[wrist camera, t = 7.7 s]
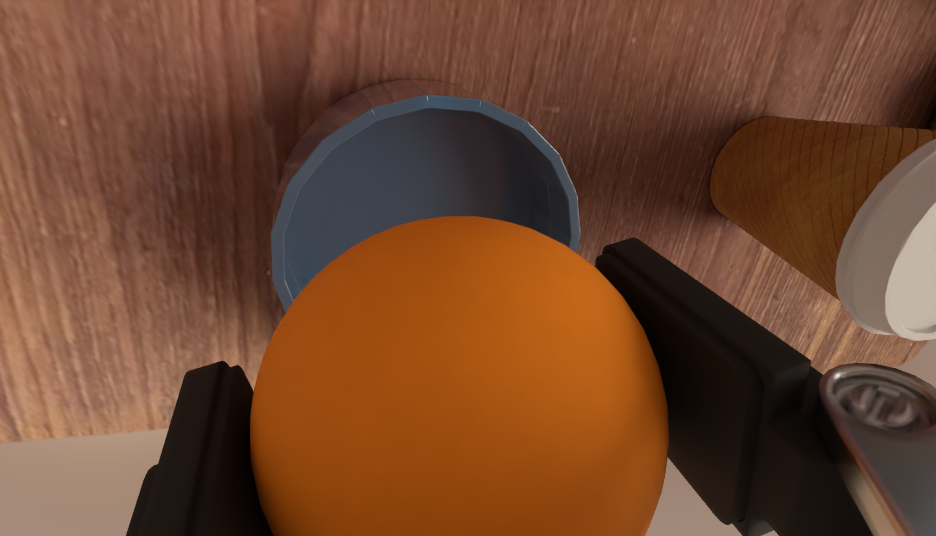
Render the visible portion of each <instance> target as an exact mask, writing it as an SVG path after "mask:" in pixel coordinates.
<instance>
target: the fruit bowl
mask: <svg viewBox="0 0 936 536" xmlns="http://www.w3.org/2000/svg"><path fill="white" fill-rule="evenodd" d="M447 216H477V217H484V218H491V219H498V220H502V221H507V222H511V223H514V224H518V225H521V226H524V227H527V228H531V229H533V230H535V231H537V232H539V233H542V234H544V235H546V236H548V237H550V238H552V239H554V240H556V241H558V242H560V243H562V244H564V245H566V246H567V247H569V248H570V249H571V250H573V251H574V252H575V253H577V251H578V247H579V242H580V236H581V233H580V220H579V207H578V195H577V192H576V190H575V187H574V185H573V183H572V181H571V178H570V176H569V174H568V171H567V169H566V167H565V165H564V162H563V160H562V158H561V156H560V154H559V153H558V152H557V150H556V149H555V148H554V147H553V146H552V145H551V144H550V143H549V142H548V141H547V140H546V139H545V138H544V137H543V136H542V135H541V134H540V133H539V132H538V131H537V130H536V129H535V128H534V127H533V126H532V125H531V124H530V123H529V122H528V121H527V120H525V119H523V118H522V117H520V116H518V115H516V114H514V113H512V112H510V111H509V110H507V109H505V108H503V107H501V106H499V105H497V104H496V103H494V102H492V101H490V100H487V99H485V98H483V97H481V96H479V95H477V94H475V93H473V92H471V91H468V90H466V89H464V88H462V87H460V86H458V85H456V84H453V83H445V82H441V81H434V80H426V79H401V80H394V81H388V82H382V83H379V84H376V85H373V86H369V87H366V88H363V89H361V90H359V91H357V92H355V93H353V94H350V95H348V96H346V97H345V98H343V99H341V100H340V101H338V102H337V103H335V104H334V105H332V106H331V107H329V108H328V109H327V110H326V111H325V112H324V113H322V114H321V115H320V116H319V117H318V118H317V119H316V120H314V122H313V123H312V124H311V125H310V126H309V127H308V128H307V130H306V131H305V132H304V133H303V134H302V136H301V137H300V139H299V140H298V142H297V143H296V145H295V147H294V148H293V150H292V151H291V152H290V154H289V157H288V160H287V162H286V164H285V167H284V169H283V173H282V176H281V180H280V183H279V187H278V190H277V192H276V195H275V203H274V211H273V219H272V227H271V261H272V281H273V285H274V287H275V290H276V292H277V294H278V297H279V299H280V301H281V304H282V306H283V308H284V311H285V313H286V312H287V311H288V309H289V307H290V306H291V304H292V303H293V301H294V300H295V298H296V297H297V296H298V295H299V294H300V293H301V291H302V290H303V289H304V288H305V287H306V286H307V284H308V283H309V282H310V281H311V280H312V279H313V278H314V277H315V276H316V275H317V274H318V273H319V272H320V271H322V270H323V269H324V268H325V267H326V266H327V265H328V264H329V263H330V262H332V261H333V260H334V259H336V258H337V257H339V256H340V255H341V254H343V253H344V252H346V251H347V250H348V249H350V248H351V247H353V246H355V245H357V244H358V243H360V242H362V241H364V240H366V239H367V238H369V237H371V236H373V235H375V234H378V233H380V232H383V231H385V230H388V229H390V228H393V227H395V226H398V225H402V224H406V223H409V222H413V221H417V220H422V219H430V218H437V217H447Z"/></svg>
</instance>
